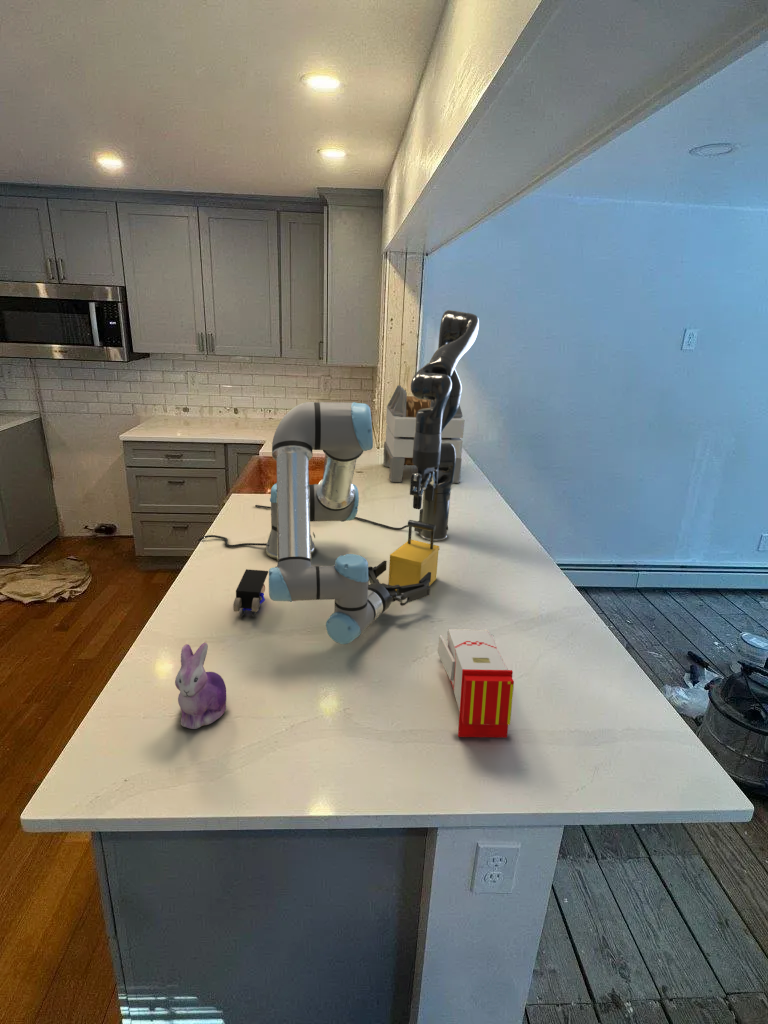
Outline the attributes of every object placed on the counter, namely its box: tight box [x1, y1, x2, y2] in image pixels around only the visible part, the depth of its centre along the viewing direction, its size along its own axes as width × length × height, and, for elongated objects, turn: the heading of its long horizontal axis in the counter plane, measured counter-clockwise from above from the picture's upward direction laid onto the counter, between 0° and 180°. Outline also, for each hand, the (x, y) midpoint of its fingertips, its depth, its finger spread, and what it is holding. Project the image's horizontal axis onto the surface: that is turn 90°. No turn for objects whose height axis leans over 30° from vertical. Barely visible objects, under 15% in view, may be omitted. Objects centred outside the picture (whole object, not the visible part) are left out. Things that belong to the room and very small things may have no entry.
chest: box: [387, 551, 439, 592], centre depth 162 cm, size 13×10×9 cm
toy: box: [437, 628, 515, 738], centre depth 117 cm, size 12×13×30 cm
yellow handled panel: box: [389, 519, 441, 567], centre depth 160 cm, size 14×10×9 cm
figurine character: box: [232, 568, 269, 617], centre depth 147 cm, size 7×8×15 cm
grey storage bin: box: [383, 384, 465, 484], centre depth 268 cm, size 34×33×41 cm
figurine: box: [174, 642, 227, 730], centre depth 106 cm, size 9×10×15 cm
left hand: (407, 570), depth 157 cm, fingers open, 13 cm apart
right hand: (423, 504), depth 159 cm, fingers open, 8 cm apart
